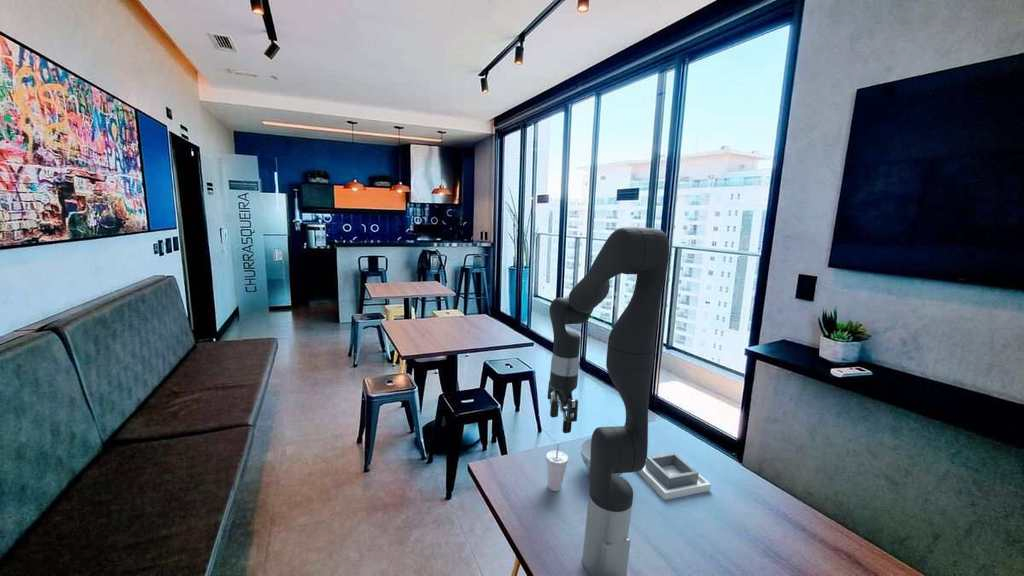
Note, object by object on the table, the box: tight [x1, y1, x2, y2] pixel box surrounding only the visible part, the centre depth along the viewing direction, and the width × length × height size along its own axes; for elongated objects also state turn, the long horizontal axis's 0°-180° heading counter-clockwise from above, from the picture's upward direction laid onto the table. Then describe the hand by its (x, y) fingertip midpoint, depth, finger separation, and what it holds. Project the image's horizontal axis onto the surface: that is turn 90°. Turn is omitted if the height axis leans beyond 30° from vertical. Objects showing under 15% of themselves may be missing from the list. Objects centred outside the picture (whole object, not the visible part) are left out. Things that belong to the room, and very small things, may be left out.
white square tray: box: [637, 452, 712, 501], centre depth 123 cm, size 15×16×5 cm
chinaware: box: [579, 437, 623, 476], centre depth 123 cm, size 15×15×8 cm
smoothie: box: [545, 442, 569, 492], centre depth 115 cm, size 6×6×14 cm
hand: (559, 424), depth 113 cm, fingers open, 8 cm apart
